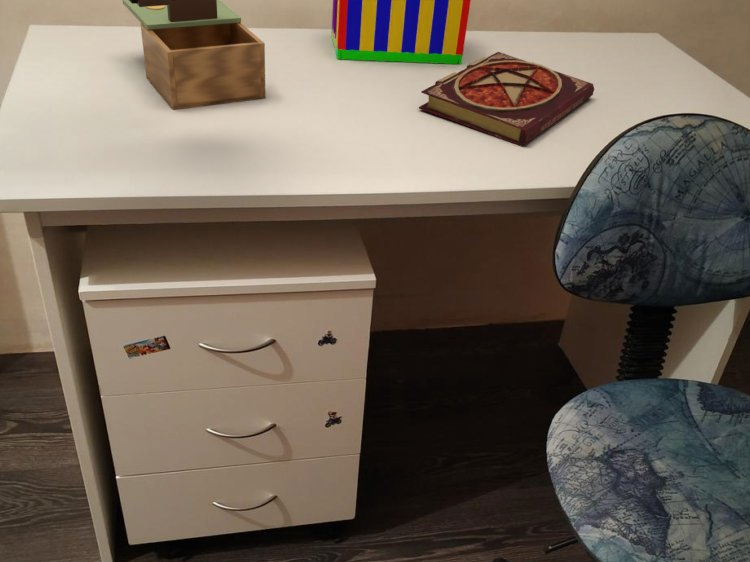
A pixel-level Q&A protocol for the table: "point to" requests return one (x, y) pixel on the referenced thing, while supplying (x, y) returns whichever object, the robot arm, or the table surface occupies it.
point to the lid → (183, 14)
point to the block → (153, 3)
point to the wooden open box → (204, 64)
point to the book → (506, 97)
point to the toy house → (400, 30)
